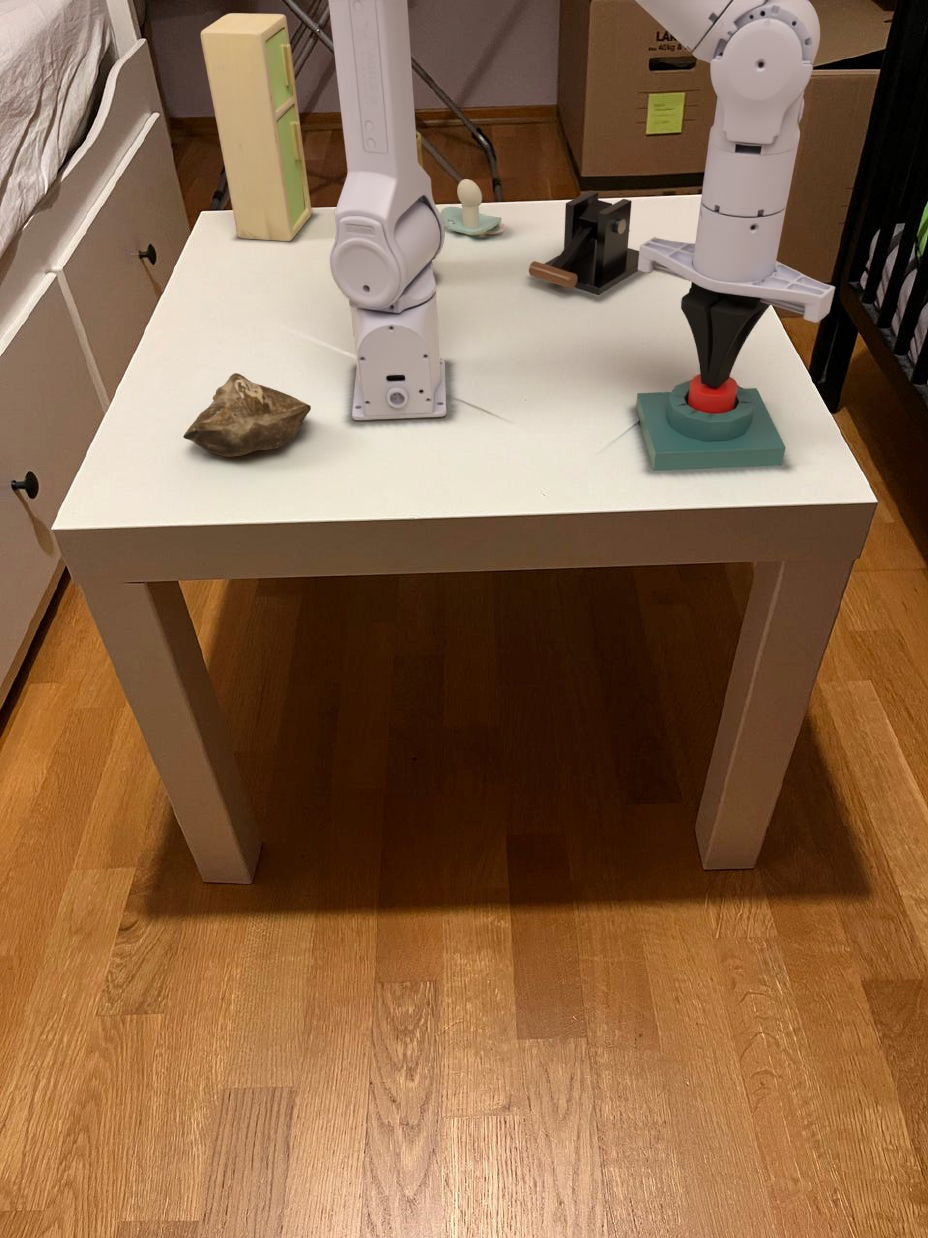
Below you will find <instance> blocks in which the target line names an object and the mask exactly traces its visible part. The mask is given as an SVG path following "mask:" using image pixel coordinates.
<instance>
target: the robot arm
mask: <svg viewBox="0 0 928 1238" xmlns="http://www.w3.org/2000/svg"><path fill="white" fill-rule="evenodd" d="M634 1H635V2H636V3H637V4H638V5H639V6H640V7H641V8H642V9H644V11H646V12H647V14H648V15H650V16H651V17H652V18H653V19H654V20H655V21H656V22H657V23H659V25H660V26H662V28H664V29H665V30H666V31H667V32H668V34H670V35H671V36H672V37H673V38H674V39H676V41H677V42H679V43H680V44H681V46H682V47H684V49H686V50H687V51H688V52H689V53H691V54H692V55H693V57H695V58H696V59H697V60H699V61H704V62H706V63H708V64H710V66H709V70H710V71H709V72H710V79H711V84H712V87H713V90H714V92H715V94H716V96H717V99H716V106H715V113H714V121H713V125H712V126H711V127H710V129H709V135H708V136H709V137H708V144H707V145H708V146H707V154H706V160H705V168H704V176H703V182H702V191H701V196H700V197H701V198H700V205H699V212H698V219H697V225H696V226H697V227H696V233H695V234H696V235H695V242H694V243H693V242H684V241H676V240H669V239H664V238H661V237H660V238H659V237H655V236H654V237H652V238H650V239H648V240H647V241H645V242H644V243H642V244H640V245H639V250H638V251H639V261H638V270H639V271H640V272H643V273H646V274H651V273H653V272H658V273H661V274H664V275H668V276H671V277H674V278H678V279H681V280H685V281H688V282H691V283H690V284H691V285H690V287H689V289H688V292H687V293H685V295H683V296H682V297H681V300H680V310H681V311H682V313H683V314H684V315H683V316H684V317H685V319H686V320H687V323H688V326H689V328H690V331H691V333H692V336H693V340H694V343H695V348H696V352H697V359H698V366H699V367H698V368H699V374H700V376H701V383H702V384H705V385H707V386H710V387H713V388H718V387H719V386H720V385H721V384H723V383H724V382H725V381H726V380H728V379H729V376H730V377H731V373H732V371H733V368H734V365H735V363H736V361H737V358H738V357H739V355H740V352H741V350H742V348H743V346H744V344H745V343H746V341H747V339H748V337H749V336H750V334H751V333H752V332H753V329H754V328H755V326H756V325H757V323H758V322H759V321H760V319H761V318H762V316H763V315H764V314H765V313H766V311H767V310H768V309H769V307H770V306H773V307H776V308H778V309H783V310H786V311H790V312H793V313H797V314H800V315H803V320H805V321H808V322H811V323H814V324H817V323H819V322H820V321H822V320H823V319H824V318H825V317H826V316H828V315H829V314H830V312H831V308H832V307H831V306H832V302H833V300H834V299H833V298H834V294H835V290H836V286H834V285H830V284H828V283H824V282H821V281H819V280H817V279H814V278H811V277H810V276H807V274H804V273H802V272H800V271H798V270H796V269H793V268H792V267H789V266H787V265H786V264H783V263H781V262H780V261H778V260H777V258H778V253H779V248H780V241H781V237H782V231H783V226H784V223H785V222H784V221H785V217H786V216H785V215H786V210H787V205H788V202H789V201H788V200H789V196H790V192H791V185H792V180H793V175H794V169H795V163H796V158H797V153H798V148H799V144H800V139H801V129H800V126H799V123H800V122H801V120H802V119H803V113H804V109H805V98H804V96H805V95H804V94H805V89H806V88H807V86H808V84H809V82H810V80H811V77H812V74H813V70H814V66H813V65H814V62H815V59H816V57H817V54H818V51H819V47H820V41H821V26H820V20H819V16H818V14H817V12H816V9H815V7H814V6H813V4H812V3H811V2H810V1H809V0H634ZM328 8H329V9H328V10H329V15H330V16H329V18H330V26H331V27H330V28H331V36H332V43H333V54H334V60H335V61H334V62H335V71H336V80H337V89H338V97H339V106H340V114H341V125H342V133H343V141H344V151H345V159H346V160H345V161H346V167H347V175H346V178H345V181H344V184H343V187H342V189H341V193H340V195H339V198H338V202H337V204H336V207H335V210H334V220H335V237H334V241H333V244H332V247H331V250H330V254H329V268H330V272H331V276H332V279H333V281H334V283H335V285H336V286H337V288H338V290H339V291H340V292H341V293H342V294H343V295H344V297H345V298H347V299H348V302H349V307H350V316H351V325H352V333H353V341H354V350H355V358H356V371H355V380H354V390H353V400H352V411H351V417H352V419H353V420H355V421H372V420H392V419H393V420H394V419H396V420H399V419H418V418H420V419H421V418H440V417H445V416H446V415H447V389H446V388H447V387H446V386H447V385H446V384H447V383H446V360H445V359H444V358H442V357H441V355H440V340H439V339H440V338H439V320H438V319H439V318H438V317H439V316H438V302H437V283H436V282H437V281H436V278H435V275H434V267H433V261H435V259H436V258H437V257H438V256H439V255H440V253H441V251H442V249H443V247H444V243H445V237H446V233H445V232H446V231H445V230H446V228H445V225H444V224H443V220H442V217H441V212H440V211H439V209H438V207H437V206H436V203H435V201H434V197H433V191H432V190H433V189H432V179H431V177H430V175H429V174H428V173H427V171H426V170H425V169H424V167H423V168H422V167H421V166H420V165H419V163H418V159H417V143H416V131H417V130H416V128H417V127H416V116H415V115H416V114H415V100H414V99H415V98H414V84H413V68H412V54H411V53H412V51H411V39H410V38H411V37H410V25H409V7H408V0H328ZM639 271H638V272H639Z"/></svg>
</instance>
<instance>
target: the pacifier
mask: <svg viewBox="0 0 928 1238" xmlns="http://www.w3.org/2000/svg"><path fill="white" fill-rule="evenodd" d="M456 192H457V198H458V200H459V201H460V203H461V207H459V206H447V207H444V208H442V209H441V211H440V215H441V217H442V220H443V224H444V227H446V228H448V229H449V230H450V231H453V232H457V233H460V234H464V235H467V236H475V237H476V236H477V237H479V236H480V237H481V236H485V235H497V234H501V233H504V232H505V231H506V225H505V224H504V223H503V222H502V217H500V216H499V217H498V216H493V215H487V214H483V213H480V211H479V210H480V209H479V207H480V205H481V204H482V202H483V194H482V191H481V189H480V187H479V186H478V184H477V183H476V182H474V181H473V180H472V179H468V178H464V179H462V180H460V182H459V183H458V185H457V191H456Z"/></svg>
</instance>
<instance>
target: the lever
mask: <svg viewBox="0 0 928 1238" xmlns="http://www.w3.org/2000/svg"><path fill="white" fill-rule="evenodd" d="M611 205H613V203H612V202H608V201H605V200H600V199H598V200H597V199H594V200H593V201H592V202H591V204H590V205H589V206H588V207H587V208H586V210H585V211H584V212H583V213H582V215H581V216H580V217H579V219H580V224H581V230H580V231H579V232H578V233H577V235H576V236H575V237H574V238H573V239H572V241H571V242H570V243H569V244H568V246H567V247H566V248H565V249H564V248H563V250H562V251H561V252H560V254H559V255H558V256H559V257H558V258H557V259H556V260H555V261H554V263H553V264H552V265H551V266H549V265H546V264H544V263H542V262H539V261H536V260H535V261H532V262H531V263H530V264H529V266H528V274H529V276H531V277H533V278H536V279H539V280H542V281H546V282H549V283H552V284H554V285H558V286H561V287H563V288H566V289H575V288H574V287H575V285H576V283H577V275H576V274H574V273H571V272H568V271H566V269H567V268H568V267H569V266H570V265H571V263H572V262H573V261H574V260H575V258H576V257H577V256H578V255H579V253H580V252H581V251H582V250H583V249H584V247H585V246H586V245H587V244H588V242H589V241H590V240H591V239H595V240H597V230H598V214H599V212H600V211H602V210H604V209H605V208H607V207H609V206H611Z"/></svg>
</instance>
